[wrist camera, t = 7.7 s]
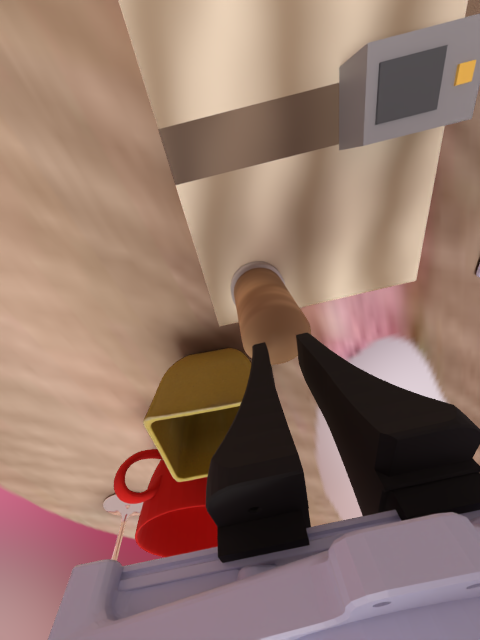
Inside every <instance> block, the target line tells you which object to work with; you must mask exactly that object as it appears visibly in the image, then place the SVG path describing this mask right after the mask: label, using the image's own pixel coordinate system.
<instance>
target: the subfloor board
mask: <svg viewBox="0 0 480 640" xmlns="http://www.w3.org/2000/svg"><path fill="white" fill-rule="evenodd" d="M118 1H119V4H120V7H121V11H122V14H123V17H124V20H125V24H126V27H127V30H128V33H129V36H130V40H131V43H132V46H133V49H134V53H135V56H136V59H137V62H138V66H139V69H140V72H141V75H142V78H143V82H144V85H145V88H146V91H147V95H148V98H149V101H150V104H151V107H152V111H153V114H154V117H155V120H156V124H157V127H158V130H159V133H160V137H161V140H162V143H163V146H164V149H165V153H166V156H167V159H168V162H169V166H170V169H171V172H172V175H173V179H174V182H175V185H176V188H177V191H178V195H179V198H180V201H181V204H182V208H183V211H184V214H185V217H186V221H187V224H188V227H189V230H190V233H191V237H192V240H193V243H194V246H195V250H196V253H197V256H198V259H199V262H200V266H201V269H202V272H203V275H204V279H205V282H206V285H207V288H208V292H209V295H210V298H211V301H212V304H213V308H214V311H215V314H216V317H217V321H218V324H219V327H220V326H224V325H228V324H233V323H237V322H239V321H238V315H237V310H236V305H235V304H234V302H233V300H232V296H231V288H230V286H231V280H232V278H233V276H234V274H235V273H236V271H237V270H238V269H239V268H240V267H242V266H243V265H245V264H247V263H249V262H253V261H263V262H267V263H270V264H271V265H273V266H274V267H275V268H276V269H277V270H278V271H279V273H280V274H281V275H282V277H283V279H284V282H285V286H286V288H287V289H288V291H289V292H290V294H291V296H292V297H293V299H294V300H295V302H296V303H297V305H298V306H299V308H301V307H305V306H310V305H314V304H318V303H322V302H327V301H331V300H335V299H340V298H344V297H348V296H352V295H357V294H361V293H365V292H370V291H374V290H378V289H382V288H387V287H391V286H395V285H400V284H404V283H408V282H412V281H416V278H417V272H418V267H419V261H420V256H421V251H422V245H423V240H424V234H425V229H426V224H427V218H428V213H429V207H430V202H431V197H432V191H433V186H434V181H435V175H436V170H437V164H438V159H439V154H440V148H441V143H442V137H443V132H444V127H445V126H441V127H437V128H433V129H429V130H425V131H421V132H417V133H413V134H409V135H405V136H401V137H397V138H393V139H389V140H385V141H381V142H377V143H373V144H369V145H365V146H360V147H355V148H350V149H344V150H339V67H340V66H341V65H342V64H344V63H345V62H346V61H347V60H348V59H350V58H351V57H352V56H353V55H354V54H355V53H357V52H358V51H359V50H360V49H361V48H363V47H364V46H365V45H366V44H367V43H370V42H373V41H377V40H381V39H385V38H389V37H392V36H396V35H400V34H404V33H408V32H412V31H415V30H419V29H423V28H427V27H431V26H434V25H438V24H442V23H446V22H450V21H454V20H457V19H461V18H465V13H466V8H467V2H468V0H118Z"/></svg>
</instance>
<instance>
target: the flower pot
mask: <svg viewBox="0 0 480 640" xmlns="http://www.w3.org/2000/svg"><path fill="white" fill-rule="evenodd" d="M250 370H251V362H250V360H249V359H248V358H247V356H246V355H245V354H243V353H242V352H241V351H239V350H236V349H233V348H226V349H221V350H216V351H210V352H205V353H199V354H193V355H188V356H186V357H184V358H182V359H181V360H179V361H177V362H176V363H175V364H173V365H172V366H171V367H170V368H169V369H168V371H167V372H166V373H165V375H164V376H163V378H162V380H161V382H160V384H159V387H158V389H157V391H156V394H155V396H154V398H153V401H152V403H151V405H150V408H149V410H148V412H147V414H146V417H145V419H144V421H143V423H144V426H145V428H146V430H147V432H148V434H149V436H150V437H151V439H152V440H153V442H154V444H155V446H156V448H157V449H158V451H159V453H160V454H161V456H162V458H163V460H164V462H165V464H166V466H167V468H168V469H169V471H170V473H171V475H172V477H173V478H174V479H175V480H176V481H177V482H182V481H189V480H194V479H199V478H203V477H208V471H209V467H210V462H211V459H212V457H213V455H214V454H215V452H216V451H217V449H218V447H219V446H220V444H221V443H222V441H223V439H224V438H225V436H226V434H227V432H228V430H229V428H230V426H231V424H232V423H233V421H234V418H235V416H236V414H237V412H238V409H239V407H240V404H241V402H242V399H243V396H244V393H245V390H246V387H247V383H248V379H249V375H250Z"/></svg>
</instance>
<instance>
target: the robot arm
mask: <svg viewBox="0 0 480 640" xmlns="http://www.w3.org/2000/svg"><path fill="white" fill-rule="evenodd" d="M476 275H477V276H478V277H480V264H479V267H478V270H477V273H476ZM296 340H297V350H298V359H299V365H300V368H301V371H302V373H303V376H304V378H305V381H306V383H307V385H308V387H309V389H310V391H311V393H312V395H313V396H314V398H315V400H316V402H317V404H318V406H319V408H320V410H321V412H322V414H323V416H324V417H325V420H326V422H327V424H328V426H329V428H330V431H331V433H332V436H333V438H334V441H335V443H336V446H337V448H338V451H339V453H340V456H341V458H342V461H343V464H344V466H345V469H346V471H347V474H348V477H349V479H350V482H351V485H352V487H353V490H354V493H355V496H356V498H357V501H358V504H359V506H360V509H361V512H362V515H363V516H362V517H357V518H352V519H348V520H343V521H338V522H333V523H328V524H324V525H319V526H314V527H311V525H310V518H309V511H308V509H309V507H308V500H307V493H306V486H305V479H304V472H303V468H302V465H301V462H300V459H299V455H298V452H297V450H296V447H295V444H294V441H293V439H292V436H291V433H290V430H289V427H288V425H287V422H286V419H285V416H284V413H283V410H282V407H281V404H280V401H279V398H278V395H277V391H276V388H275V383H274V378H273V373H272V367H271V362H270V357H269V352H268V348H267V346H266V343H265V342H263V343H259V344H255V345H253V346H252V364H251V370H250V375H249V379H248V383H247V387H246V390H245V393H244V396H243V399H242V402H241V404H240V407H239V409H238V412H237V414H236V416H235V418H234V421H233V423H232V424H231V426H230V428H229V430H228V432H227V434H226V436H225V438H224V439H223V441H222V443H221V444H220V446H219V447H218V449H217V451H216V452H215V454H214V455H213V457H212V459H211V462H210V467H209V471H208V477H207V484H206V509H207V512H208V513H209V515H210V516H211V518H212V519H213V521H214V522H215V524H216V525H217V541H218V547H213V548H209V549H204V550H199V551H194V552H189V553H185V554H180V555H175V556H170V557H165V558H161V559H156V560H151V561H146V562H142V563H137V564H132V565H127V566H122V565H121V564H120V563H119V562H118V561H116V560H100V561H96V562H91V563H86V564H81V565H77V566H75V567H74V568H73V570H72V573H71V576H70V578H69V581H68V584H67V587H66V590H65V593H64V595H63V598H62V601H61V604H60V607H59V610H58V612H57V615H56V618H55V621H54V624H53V626H52V629H51V632H50V635H49V638H48V640H480V473H479V472H480V466H479V465H478V464H477V463H476V462H475V461H474V459H473V456H474V454H475V452H476V450H477V448H478V447H479V445H480V429H479V428H478V427H477V426H476V425H475V424H474V423H473V422H472V421H471V420H470V419H469V418H468V417H467V416H466V415H465V414H464V413H462V412H461V411H460V410H459V409H458V408H457V407H455V406H454V405H452V404H448V403H445V402H442V401H438V400H435V399H432V398H428V397H425V396H422V395H419V394H416V393H414V392H411V391H408V390H405V389H402V388H400V387H397V386H395V385H392V384H390V383H388V382H386V381H383V380H381V379H379V378H377V377H375V376H373V375H370V374H369V373H367V372H365V371H363V370H361V369H359V368H357V367H356V366H354V365H352V364H351V363H349V362H348V361H346V360H344V359H343V358H341V357H340V356H338V355H337V354H335V353H334V352H333V351H331V350H330V349H328V348H327V347H326V346H324V345H323V344H322V343H321V342H319V341H318V340H317V339H316V338H314V337H313V336H312V335H311V334H309V333H308V332H307V333H302V334H298V335H296Z"/></svg>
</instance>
